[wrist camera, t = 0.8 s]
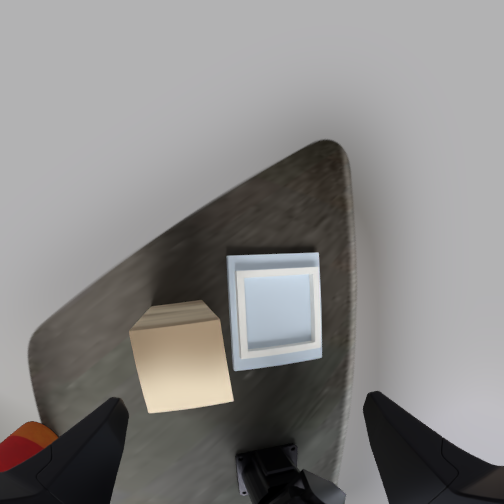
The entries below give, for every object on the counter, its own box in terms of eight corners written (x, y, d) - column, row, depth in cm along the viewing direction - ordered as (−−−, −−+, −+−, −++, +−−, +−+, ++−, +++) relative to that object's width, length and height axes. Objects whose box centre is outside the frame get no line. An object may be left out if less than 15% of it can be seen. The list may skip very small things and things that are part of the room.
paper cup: (50, 476, 17) (14, 550, 4) (4, 425, 17) (-55, 484, 3) (88, 457, 19) (54, 548, 6) (37, 401, 19) (-32, 470, 5)
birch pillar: (209, 349, 24) (233, 401, 13) (160, 356, 22) (148, 413, 12) (201, 299, 24) (219, 319, 13) (151, 306, 23) (128, 331, 12)
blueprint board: (318, 355, 26) (325, 359, 24) (232, 368, 24) (236, 374, 22) (314, 253, 27) (322, 251, 25) (226, 256, 25) (229, 255, 23)
